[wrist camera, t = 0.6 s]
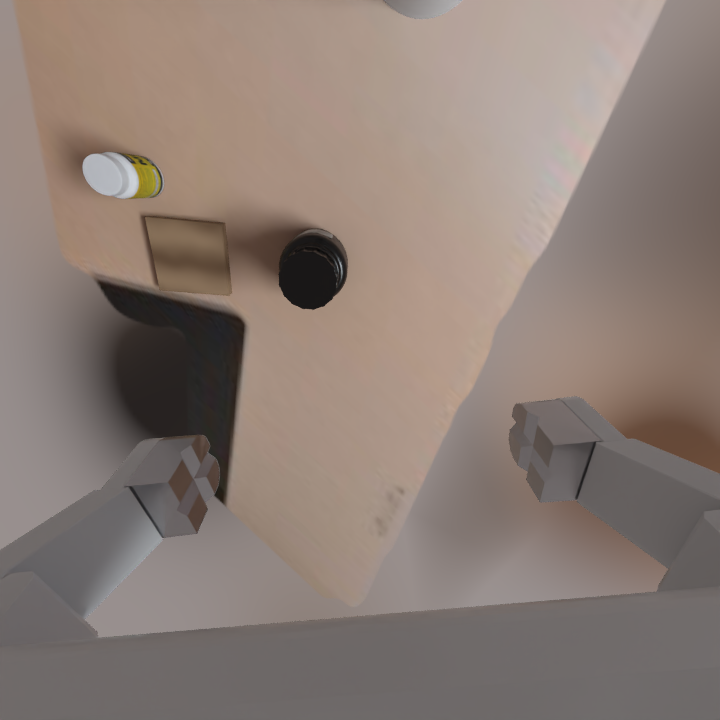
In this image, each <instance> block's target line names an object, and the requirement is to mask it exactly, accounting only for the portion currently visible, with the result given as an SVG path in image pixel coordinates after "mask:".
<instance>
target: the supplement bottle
mask: <svg viewBox="0 0 720 720" xmlns="http://www.w3.org/2000/svg"><path fill="white" fill-rule="evenodd" d="M82 167H83V174H84V177H85V179H86V181H87V182H88V184H89V185H90V186H91V187H92V188H93V189H94V190H95V191H97V192H99V193H101V194H103V195H107V196H114V197H116V198H120V199H132V198H153V197H156V196H158V195H159V194H161V192H162V191H163V188H164V178H163V175H162V172H161V171H160V169H159V167H158V166H157V165H156V164H155V163H154V162H153V161H151V160H150V159H148V158H145V157H142V156H135V155H129V154H122V153H116V152H104V153H101V154H90V155H88V156H87V157H86V158H85V159H84V161H83V166H82Z"/></svg>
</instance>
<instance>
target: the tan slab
mask: <svg viewBox="0 0 720 720" xmlns="http://www.w3.org/2000/svg"><path fill="white" fill-rule="evenodd" d="M145 221H146V225H147V230H148V235H149V240H150V245H151V250H152V255H153V259H154V264H155V269H156V274H157V279H158V284H159V289H160V290H162V291H175V292H188V293H200V294H213V295H226V296H229V295H230V294H231V293H232V288H231V277H230V267H229V257H228V247H227V237H226V227H225V223H220V222H209V221H198V220H188V219H177V218H166V217H156V216H148V217H145Z"/></svg>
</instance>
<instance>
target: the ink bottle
mask: <svg viewBox="0 0 720 720" xmlns="http://www.w3.org/2000/svg"><path fill="white" fill-rule="evenodd" d="M347 268H348V259H347V254H346V251H345V249H344V247H343V245H342V243H341V242H340V241H339V240H338V239H337V238H336V237H335V236H334V235H333V234H331V233H329V232H327V231H325V230H321V229H311V230H307V231H304V232H302V233H300V234H299V235H298V236H296V237H295V238H294V239H293V240H292V241H291V242H290V243H289V244H288V245H287V246H286V247H285V249H284V250H283V252H282V255H281V258H280V262H279V270H280V272H279V286H280V288H281V290H282V292H283V295H284V296H285V297H286V298H287V299H288V300H289V301H290V302H291V303H292V304H293V305H296V306H298V307H300V308H302V309H312V310H314V309H316V308H319V307H323V306H325V305H326V304H327V303H328V302H329V301H330V300H332V299H333V297H334V296H335V295H336V294H337V293H338V292H339V291H340V290H341V289H342V287H343V286H344V284H345V281H346V278H347Z"/></svg>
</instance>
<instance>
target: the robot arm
mask: <svg viewBox="0 0 720 720" xmlns="http://www.w3.org/2000/svg"><path fill="white" fill-rule="evenodd" d="M384 1H385V2H386V3H387V4H388V5H389V6H390V7H391V8H392V9H394V10H395V11H397V12H398V13H400V14H402V15H404V16H407V17H410V18H414V19H430V18H434V17H437V16H440V15H442V14H445V13H446V12H448V11H450V10H451V9H453V8H454V7H455V6H457V5H458V4H459V3H460V2H461V1H462V0H384ZM512 417H513V418H514V420H515V421H516V424H515V425H514V426H513V427H512V428H511V429H510V433H509V444H510V450H511V453H512V456H513V458H514V460H515V462H516V463H517V465H518V466H519V467H521V468H523V469H524V470H526V471H527V472H528V473H527V478H526V480H527V482H528V483H529V485H530V487H531V488H532V490H533V492H534V493H535V495H536V497H537V498H538V500H539V502H554V501H570V500H577V502H578V503H579V504H580V505H582V506H583V507H584V508H586V509H587V510H589V511H590V512H591V513H593V514H594V515H595V516H597V517H598V518H600V519H601V520H602V521H604V522H605V523H606V524H608V525H609V526H610V527H612V528H613V529H614V530H616V531H617V532H619V533H620V534H622V535H623V536H624V537H625V538H627V539H628V540H630V541H631V542H632V543H634V544H635V545H636V546H638V547H639V548H640V549H642V550H643V551H645V552H646V553H648V554H649V555H650V556H651V557H653V558H654V559H656V560H657V561H658V562H660V563H661V564H662V565H664V566H665V567H666V568H668V570H667V572H666V574H665V575H664V577H663V579H662V580H661V582H660V583H659V585H658V589H657V592H645V593H635V594H634V593H633V594H621V595H610V596H597V597H585V598H574V599H561V600H549V601H537V602H525V603H512V604H500V605H488V606H476V607H464V608H451V609H439V610H427V611H415V612H403V613H390V614H378V615H366V616H355V617H343V618H331V619H320V620H307V621H295V622H283V623H271V624H259V625H247V626H235V627H223V628H211V629H199V630H187V631H175V632H163V633H151V634H139V635H127V636H114V637H102V638H98V633H97V631H96V630H95V629H94V628H93V627H92V626H90V624H88V623H87V622H86V621H85V619H86V618H87V617H88V616H89V614H91V613H92V612H93V611H94V610H95V609H96V608H97V607H98V606H99V605H100V604H101V603H102V601H103V600H104V599H106V598H107V596H108V595H109V594H110V593H111V592H112V591H113V590H114V589H115V588H116V587H117V586H118V585H119V584H120V583H121V582H122V581H123V580H124V579H125V578H126V577H127V576H128V575H129V574H130V573H131V572H132V571H133V570H134V569H135V568H136V567H137V566H138V565H139V564H140V563H141V562H142V561H143V560H144V558H145V557H147V555H149V553H151V552H152V550H153V549H154V548H155V547H156V546H157V545H158V544H159V543H160V542H161V541H162V540H163V538H166V537H173V536H182V535H190V534H197V533H198V531H199V528H200V526H201V524H202V522H203V519H204V517H205V515H206V512H207V510H208V508H207V505H206V503H205V502H206V501H207V500H209V499H210V498H211V497H212V496H213V495H214V494H215V492H216V490H217V487H218V485H219V477H220V470H219V465H218V462H217V460H216V458H215V457H213V456H212V455H210V454H209V453H207V452H208V450H209V448H210V444H209V442H208V440H207V438H206V437H205V436H203V435H191V436H180V437H165V438H157V439H146V440H144V441H142V442H140V443H139V444H138V445H137V446H136V447H135V449H134V450H133V451H132V452H131V454H130V455H129V456H128V457H127V458H126V459H125V461H124V462H123V463H122V464H121V466H120V467H119V468H118V469H117V470H116V472H115V473H114V474H113V475H112V476H111V478H110V479H109V480H108V481H107V482H106V484H105V485H104V486H103V487H102V489H101V490H94V491H92V492H91V493H89V494H88V495H86V496H84V497H83V498H81V499H80V500H78V501H77V502H75V503H74V504H72V505H70V506H69V507H68V508H66V509H64V510H62V511H61V512H59V513H58V514H56V515H55V516H53V517H51V518H50V519H48V520H47V521H45V522H44V523H42V524H41V525H39V526H37V527H36V528H34V529H33V530H31V531H29V532H28V533H26V534H25V535H23V536H22V537H20V538H18V539H17V540H15V541H14V542H12V543H10V544H9V545H7V546H6V547H4V548H3V549H1V550H0V720H720V474H719V473H716V472H714V471H711V470H709V469H707V468H704V467H702V466H699V465H697V464H694V463H692V462H690V461H687V460H685V459H682V458H680V457H677V456H675V455H673V454H670V453H668V452H665V451H663V450H660V449H658V448H655V447H653V446H651V445H648V444H646V443H643V442H641V441H639V440H636V439H626V438H625V437H624V436H623V435H622V434H621V433H620V432H619V431H618V430H616V429H615V428H614V427H613V426H612V425H611V424H610V423H609V422H608V421H607V420H605V419H604V418H603V417H602V416H601V415H600V414H599V413H598V412H597V411H596V410H595V409H593V408H592V407H591V406H590V405H589V404H588V403H587V402H586V401H585V400H584V399H582V398H580V397H577V396H574V397H566V398H558V399H555V400H544V401H535V402H525V403H516V405H515V406H514V408H513V413H512Z"/></svg>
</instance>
